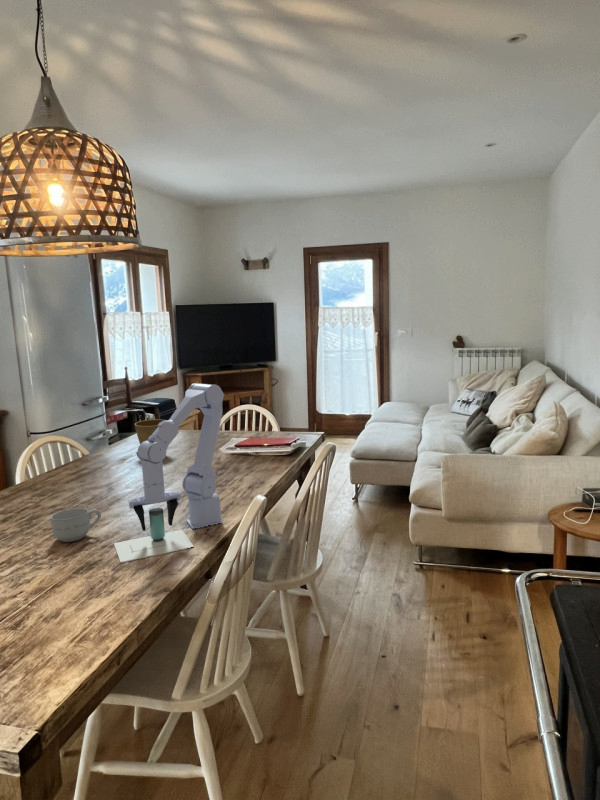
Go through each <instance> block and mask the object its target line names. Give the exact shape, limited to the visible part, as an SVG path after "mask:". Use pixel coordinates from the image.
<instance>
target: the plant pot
mask: <svg viewBox="0 0 600 800" xmlns="http://www.w3.org/2000/svg"><path fill="white" fill-rule="evenodd" d="M163 421H167V419H145V420H140V421H136V422H135V423H134V427H135V431H136V434H137V435H136V436H137V439H138V441H139V445H140V444H141V443H142V442H145V441H148V438H149V437H150V436H151V435H152V434H153V433H154V431H155V430H156V429H157V428H158V427H159V426H158V424H159V423H160V422H163Z"/></svg>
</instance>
